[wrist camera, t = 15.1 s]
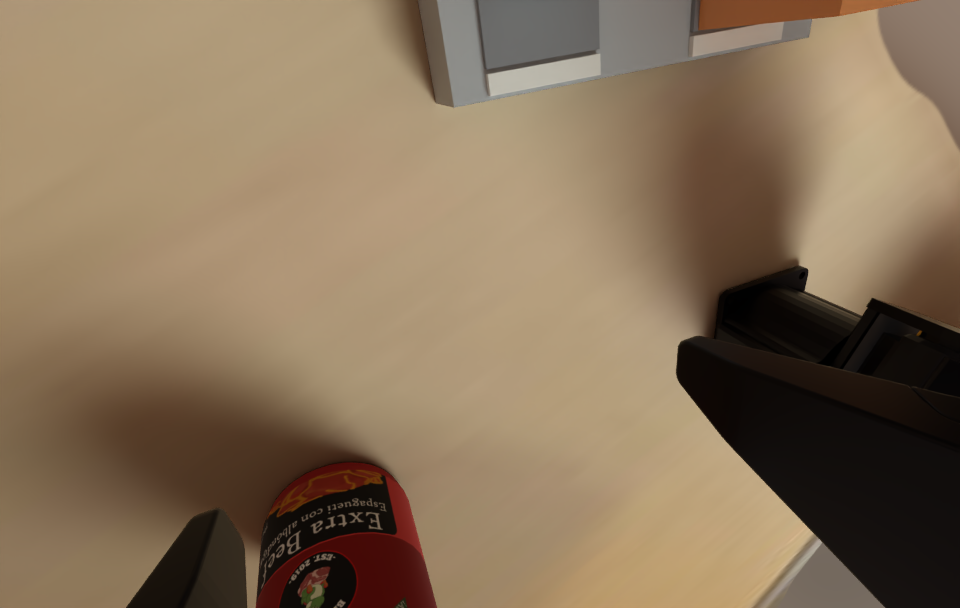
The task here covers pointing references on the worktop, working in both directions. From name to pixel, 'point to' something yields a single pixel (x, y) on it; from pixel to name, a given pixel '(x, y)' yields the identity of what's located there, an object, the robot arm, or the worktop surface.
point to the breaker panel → (569, 42)
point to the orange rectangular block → (779, 10)
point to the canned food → (342, 544)
